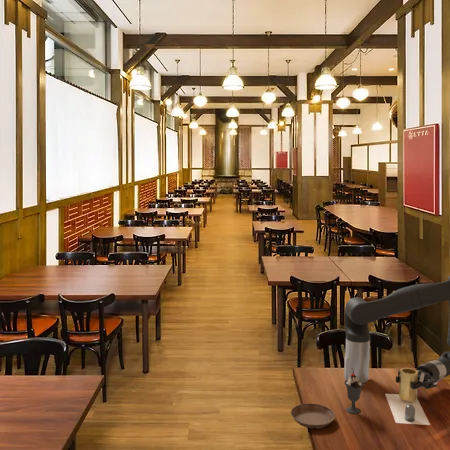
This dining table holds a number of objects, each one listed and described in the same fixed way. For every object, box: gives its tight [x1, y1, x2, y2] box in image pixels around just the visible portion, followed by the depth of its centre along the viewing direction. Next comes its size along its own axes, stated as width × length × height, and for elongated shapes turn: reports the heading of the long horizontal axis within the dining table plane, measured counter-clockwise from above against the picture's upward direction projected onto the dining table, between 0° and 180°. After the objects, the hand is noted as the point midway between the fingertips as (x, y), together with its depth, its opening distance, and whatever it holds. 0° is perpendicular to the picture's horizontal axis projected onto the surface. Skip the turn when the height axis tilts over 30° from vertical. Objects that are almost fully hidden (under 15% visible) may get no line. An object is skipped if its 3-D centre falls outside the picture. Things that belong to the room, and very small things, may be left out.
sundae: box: [343, 368, 365, 415], centre depth 187 cm, size 7×7×15 cm
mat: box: [385, 393, 431, 426], centre depth 187 cm, size 11×22×1 cm, turn 173°
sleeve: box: [398, 367, 418, 401], centre depth 193 cm, size 6×6×10 cm
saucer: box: [290, 402, 336, 429], centre depth 181 cm, size 15×15×3 cm
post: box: [405, 405, 415, 422], centre depth 179 cm, size 3×3×5 cm
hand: (404, 383), depth 192 cm, fingers closed on sleeve, 6 cm apart
